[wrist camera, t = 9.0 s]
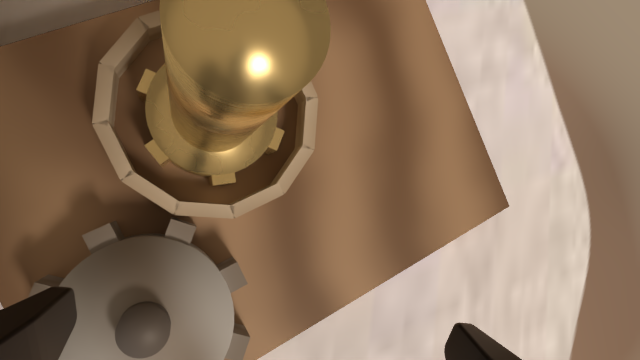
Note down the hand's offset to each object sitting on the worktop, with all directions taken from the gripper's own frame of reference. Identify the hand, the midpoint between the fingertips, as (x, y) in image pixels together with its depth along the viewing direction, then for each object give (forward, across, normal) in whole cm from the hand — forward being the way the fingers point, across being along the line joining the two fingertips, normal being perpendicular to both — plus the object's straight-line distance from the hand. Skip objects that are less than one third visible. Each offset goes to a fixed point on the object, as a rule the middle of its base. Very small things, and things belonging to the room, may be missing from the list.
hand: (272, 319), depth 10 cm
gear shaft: (+12, -4, 0) cm, 13 cm away
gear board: (+13, -1, -2) cm, 13 cm away
